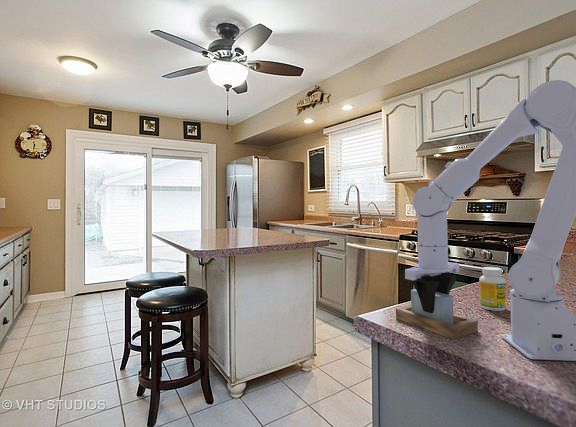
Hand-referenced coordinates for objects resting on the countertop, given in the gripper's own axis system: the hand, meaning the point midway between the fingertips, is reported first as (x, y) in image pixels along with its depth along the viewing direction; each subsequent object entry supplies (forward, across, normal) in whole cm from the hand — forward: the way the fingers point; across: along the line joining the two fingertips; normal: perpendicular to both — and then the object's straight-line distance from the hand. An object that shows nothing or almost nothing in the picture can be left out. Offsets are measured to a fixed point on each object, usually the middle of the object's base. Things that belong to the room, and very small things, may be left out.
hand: (433, 310), depth 69 cm
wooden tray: (+3, 0, 0) cm, 3 cm away
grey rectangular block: (+2, 0, -1) cm, 2 cm away
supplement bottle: (+3, -21, 0) cm, 22 cm away
